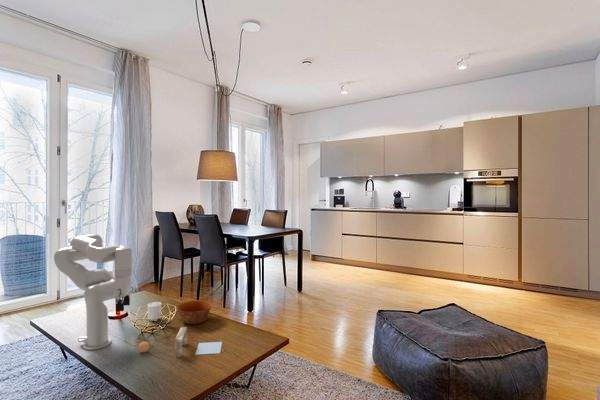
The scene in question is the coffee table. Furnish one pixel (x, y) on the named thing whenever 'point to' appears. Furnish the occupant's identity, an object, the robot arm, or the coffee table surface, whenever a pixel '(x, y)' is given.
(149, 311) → the white cup
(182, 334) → the bridge
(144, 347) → the ball
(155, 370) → the coffee table surface
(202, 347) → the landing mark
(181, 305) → the bowl
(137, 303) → the coffee table surface
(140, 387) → the coffee table surface
